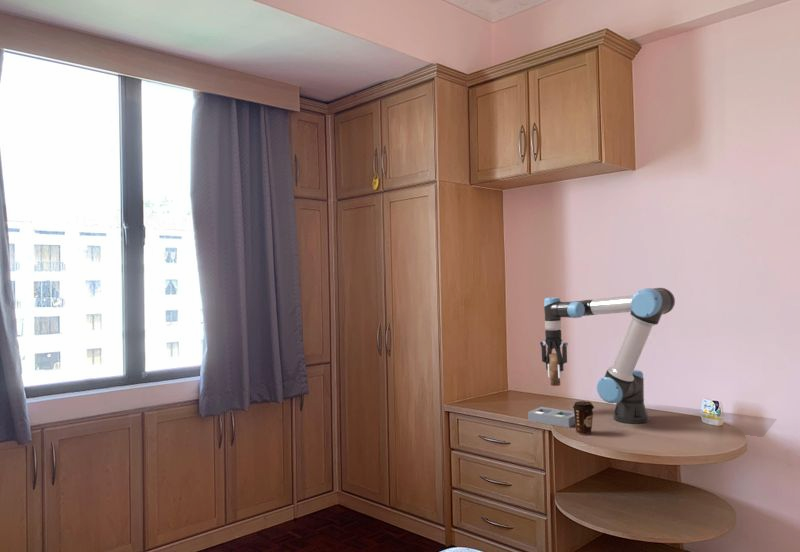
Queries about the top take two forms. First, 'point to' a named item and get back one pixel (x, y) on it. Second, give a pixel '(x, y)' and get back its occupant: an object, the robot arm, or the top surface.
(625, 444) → the top surface
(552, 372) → the walnut plug
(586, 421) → the coffee cup
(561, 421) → the socket block
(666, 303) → the robot arm
